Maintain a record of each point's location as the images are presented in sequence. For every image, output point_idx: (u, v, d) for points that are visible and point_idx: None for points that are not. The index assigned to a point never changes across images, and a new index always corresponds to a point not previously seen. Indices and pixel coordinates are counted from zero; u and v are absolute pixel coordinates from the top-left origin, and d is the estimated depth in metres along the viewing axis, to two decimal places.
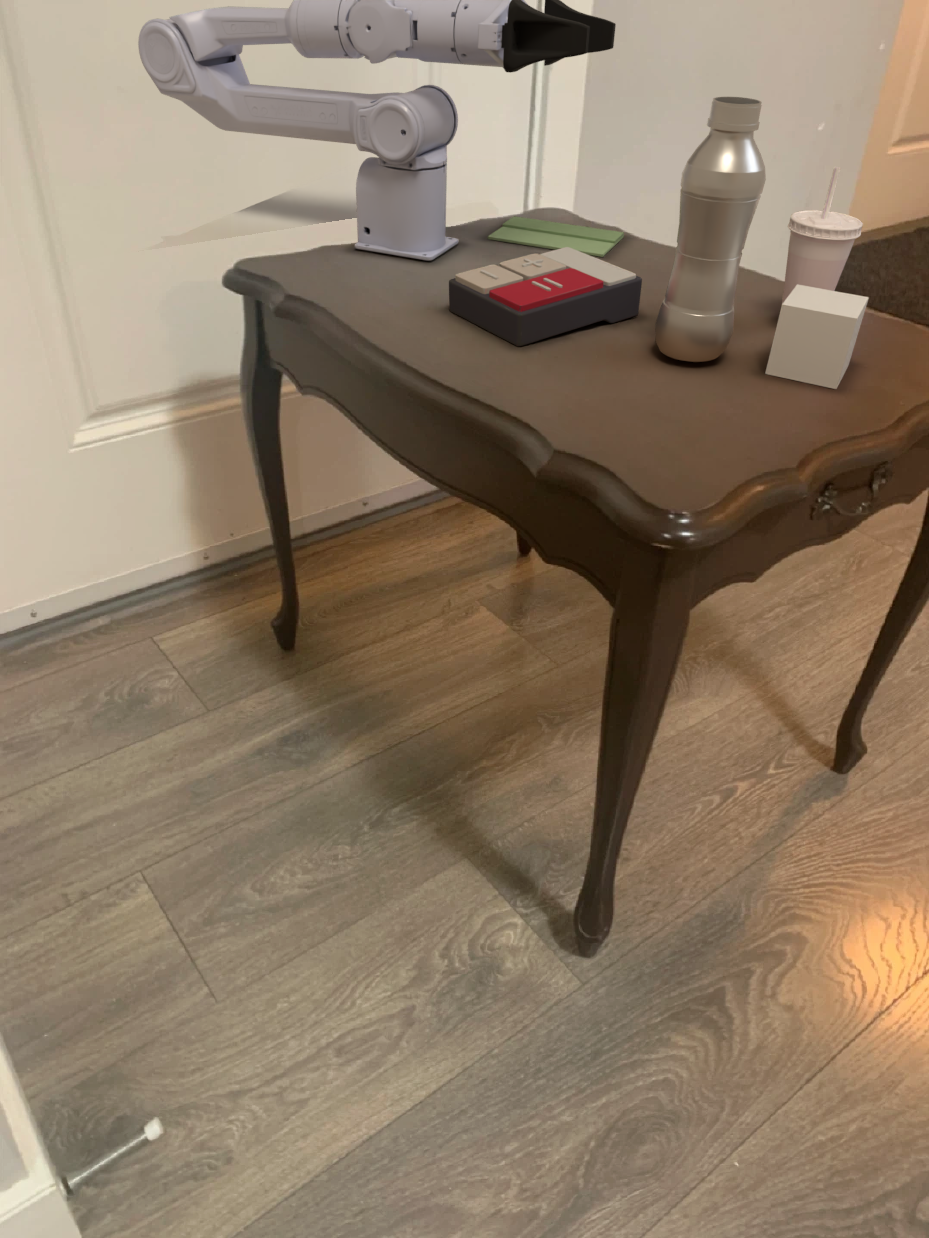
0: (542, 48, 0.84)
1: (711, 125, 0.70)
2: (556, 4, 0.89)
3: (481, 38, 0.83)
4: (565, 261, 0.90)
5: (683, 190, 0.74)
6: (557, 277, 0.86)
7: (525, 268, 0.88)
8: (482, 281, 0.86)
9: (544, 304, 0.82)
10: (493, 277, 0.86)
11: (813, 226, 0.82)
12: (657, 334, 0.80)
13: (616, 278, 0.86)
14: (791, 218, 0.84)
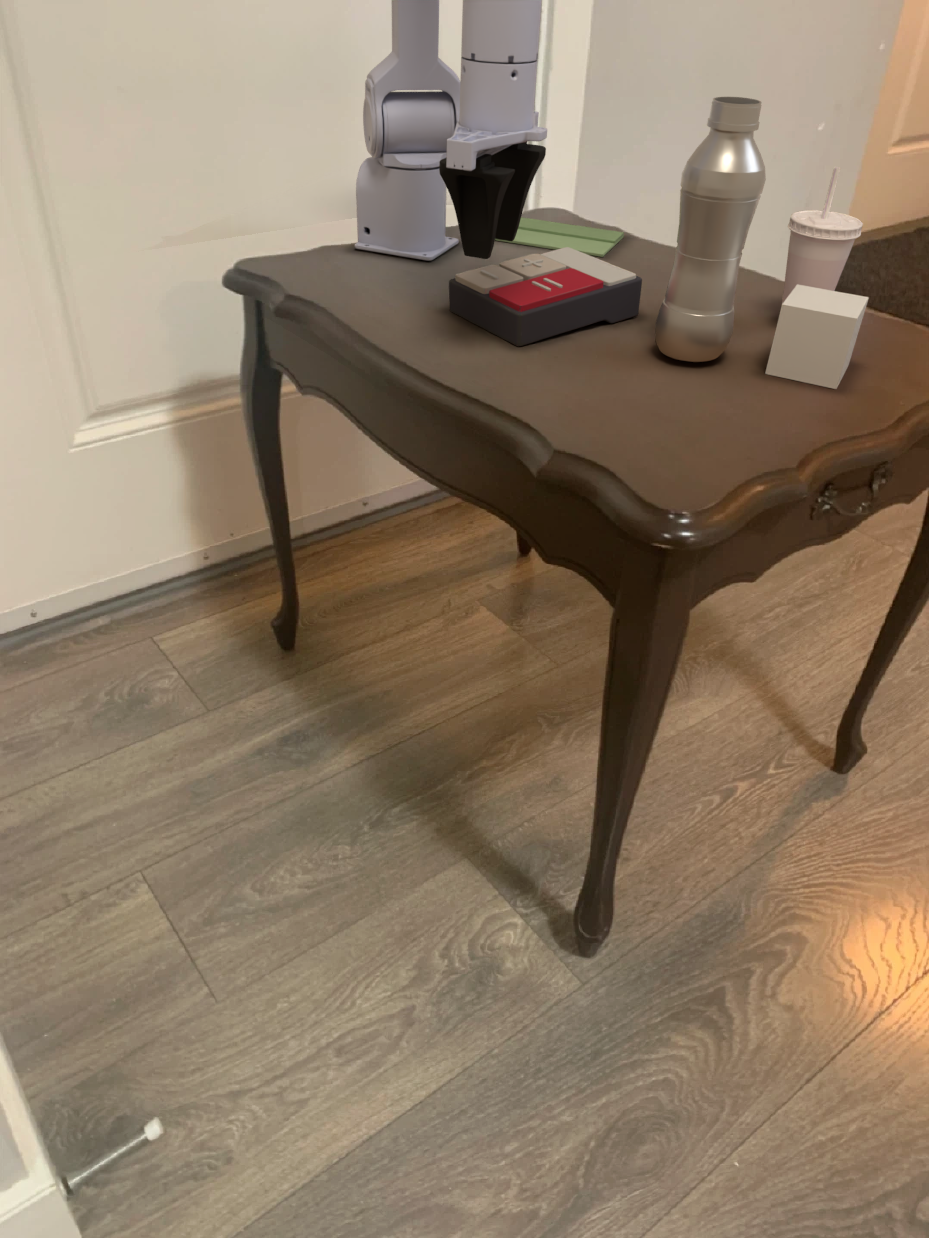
0: (467, 203, 0.73)
1: (711, 125, 0.70)
2: (532, 167, 0.75)
3: (457, 146, 0.67)
4: (565, 261, 0.90)
5: (683, 190, 0.74)
6: (557, 277, 0.86)
7: (525, 268, 0.88)
8: (482, 281, 0.86)
9: (544, 305, 0.82)
10: (493, 277, 0.86)
11: (813, 226, 0.82)
12: (657, 334, 0.80)
13: (616, 278, 0.86)
14: (791, 218, 0.84)
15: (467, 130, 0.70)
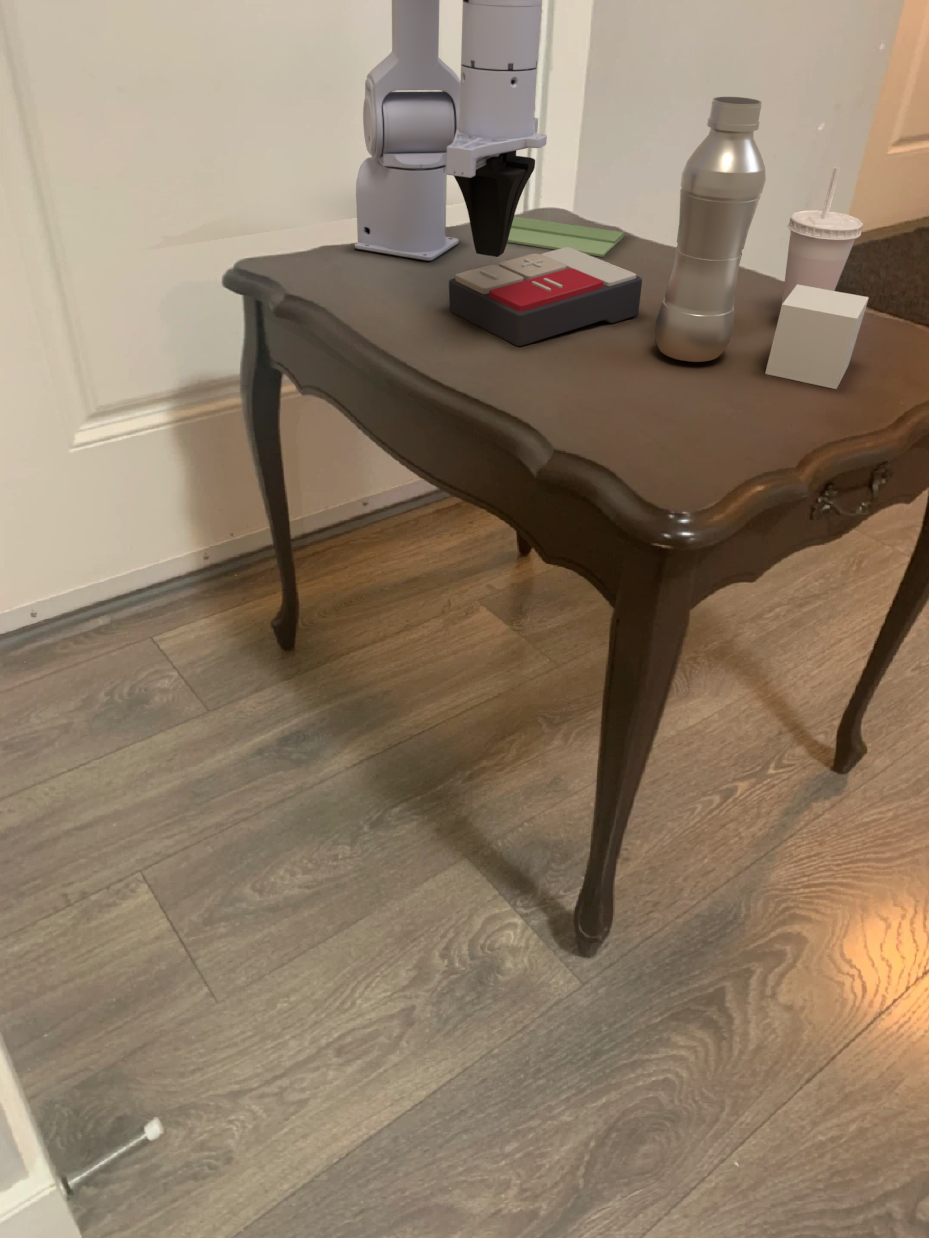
0: (479, 202, 0.75)
1: (711, 125, 0.70)
2: (521, 179, 0.74)
3: (457, 153, 0.67)
4: (565, 261, 0.90)
5: (683, 190, 0.74)
6: (557, 277, 0.86)
7: (525, 268, 0.88)
8: (482, 281, 0.86)
9: (544, 305, 0.82)
10: (493, 277, 0.86)
11: (813, 226, 0.82)
12: (657, 334, 0.80)
13: (616, 278, 0.86)
14: (791, 218, 0.84)
15: (467, 137, 0.71)
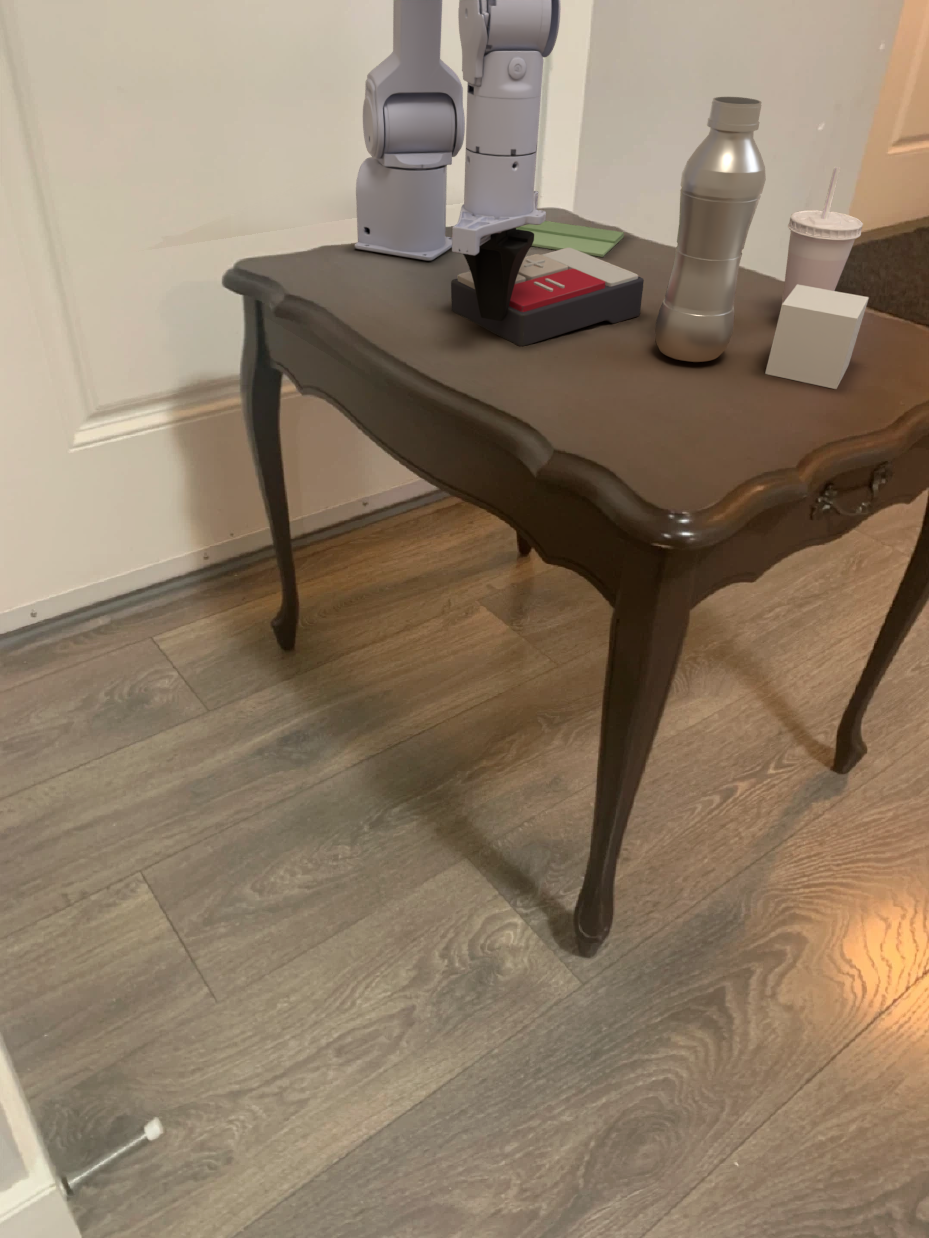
0: (484, 271, 0.80)
1: (711, 125, 0.70)
2: (521, 253, 0.78)
3: (462, 233, 0.72)
4: (567, 262, 0.90)
5: (683, 190, 0.74)
6: (559, 277, 0.86)
7: (527, 269, 0.88)
8: None
9: (547, 305, 0.83)
10: None
11: (813, 226, 0.82)
12: (657, 334, 0.80)
13: (618, 279, 0.87)
14: (791, 218, 0.84)
15: (471, 214, 0.75)
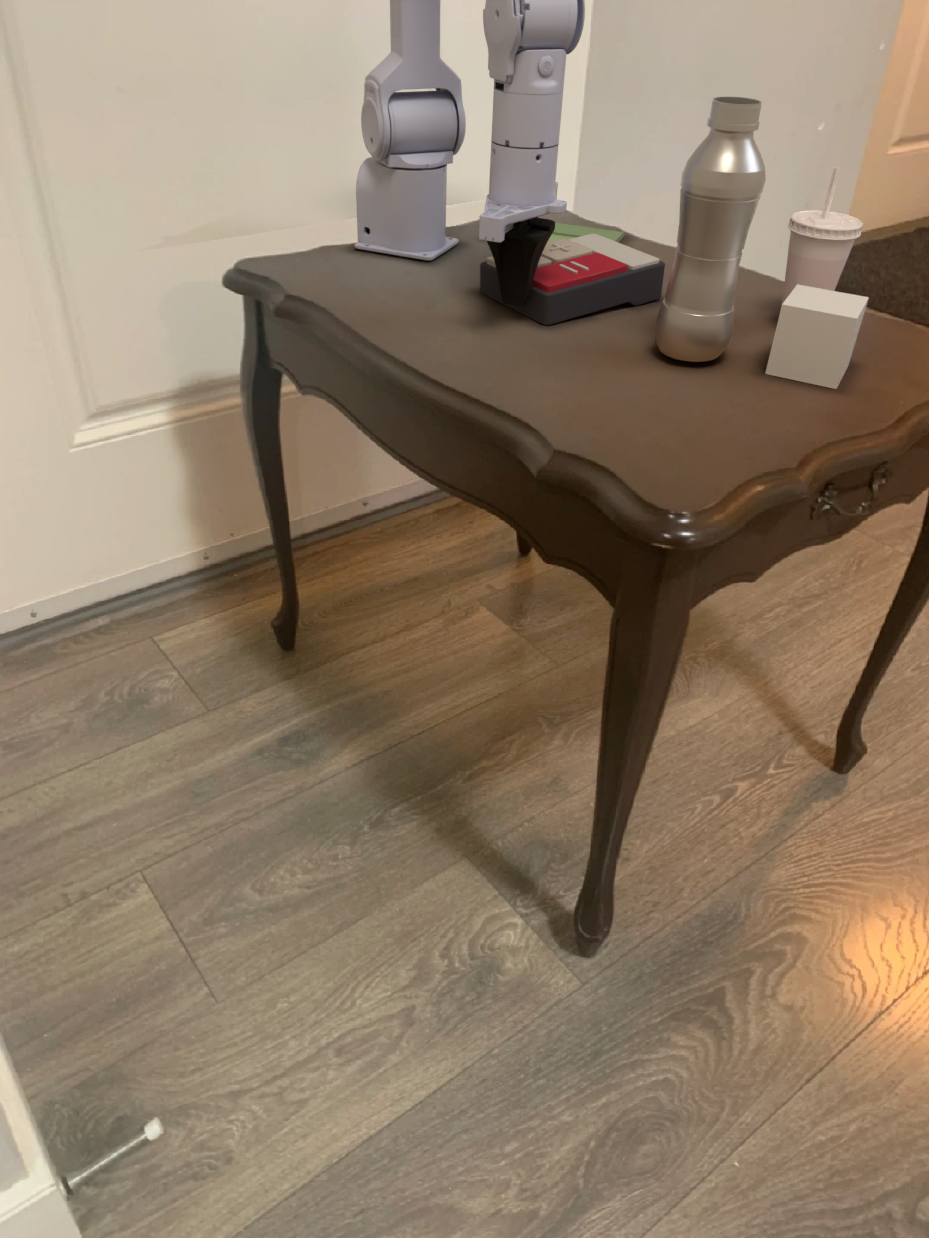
0: (506, 259, 0.84)
1: (711, 125, 0.70)
2: (543, 240, 0.83)
3: (488, 221, 0.76)
4: (591, 246, 0.94)
5: (683, 190, 0.74)
6: (584, 260, 0.90)
7: (553, 253, 0.92)
8: None
9: (571, 286, 0.87)
10: None
11: (813, 226, 0.82)
12: (657, 334, 0.80)
13: (640, 263, 0.90)
14: (791, 218, 0.84)
15: (496, 204, 0.80)
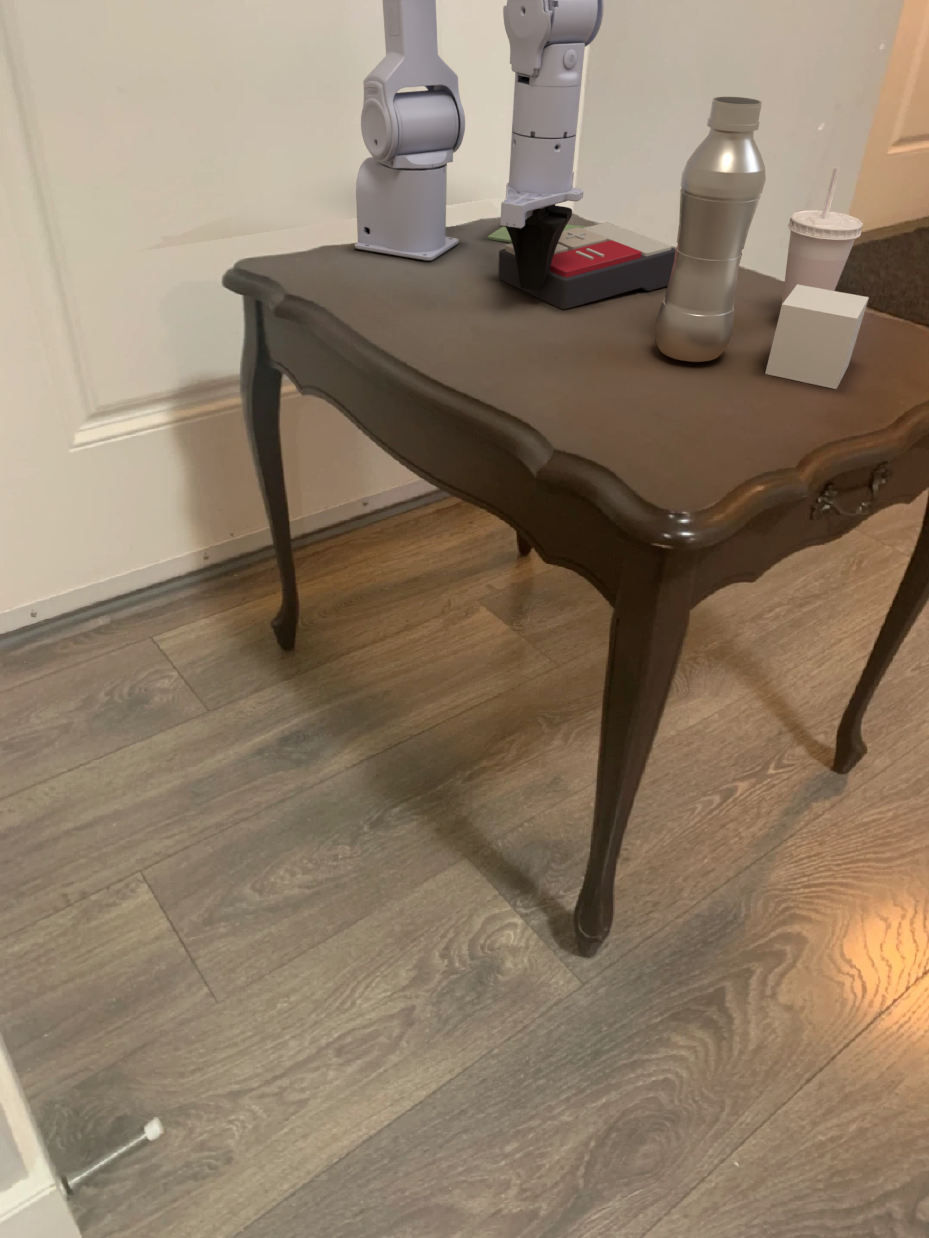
0: (525, 245, 0.88)
1: (711, 125, 0.70)
2: (561, 227, 0.86)
3: (510, 208, 0.80)
4: (606, 234, 0.98)
5: (683, 190, 0.74)
6: (599, 248, 0.94)
7: (569, 240, 0.96)
8: None
9: (588, 271, 0.90)
10: None
11: (813, 226, 0.82)
12: (657, 334, 0.80)
13: (653, 249, 0.94)
14: (791, 218, 0.84)
15: (516, 192, 0.83)
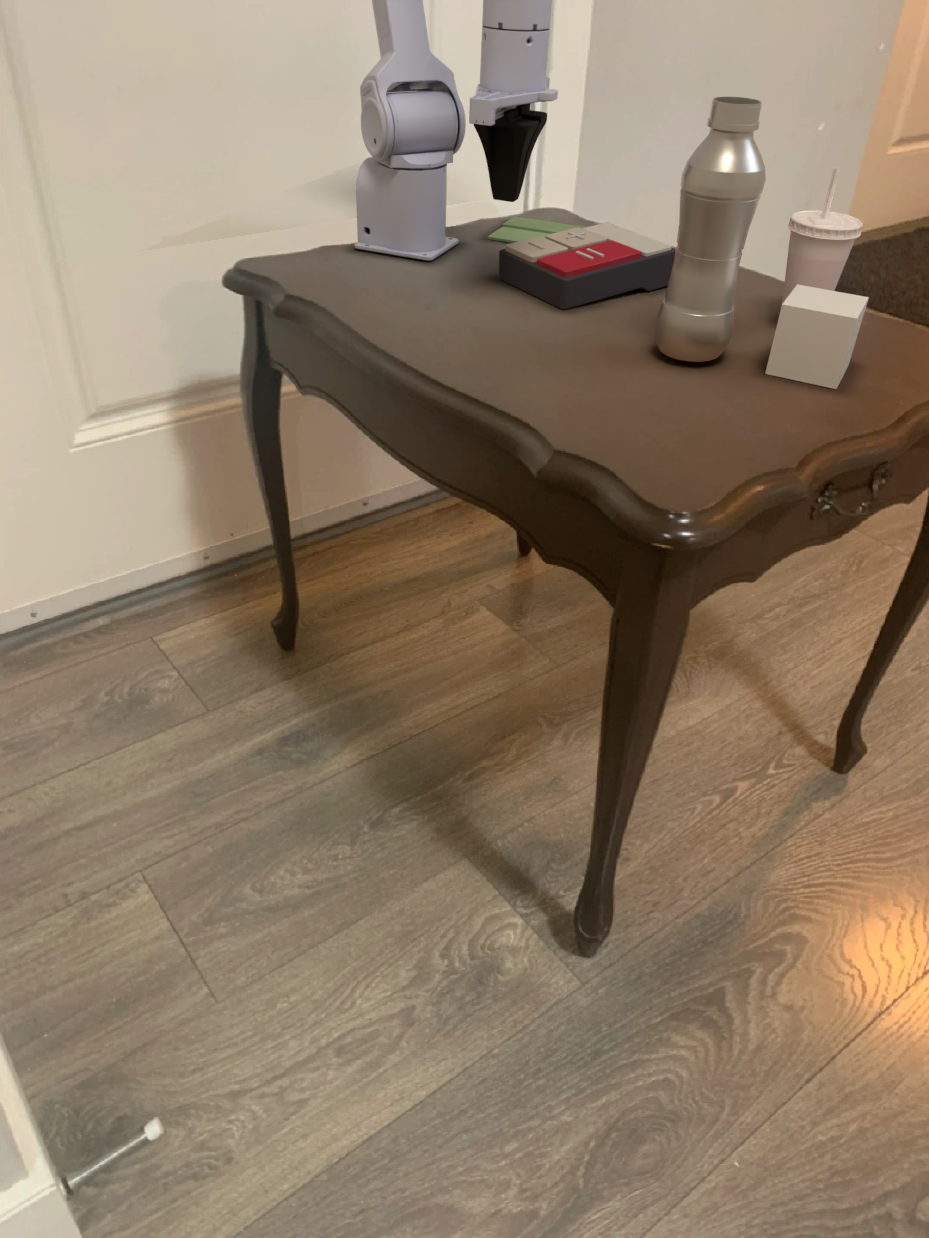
0: (497, 152, 0.84)
1: (711, 125, 0.70)
2: (535, 131, 0.83)
3: (479, 103, 0.76)
4: (606, 234, 0.98)
5: (683, 190, 0.74)
6: (599, 247, 0.94)
7: (569, 240, 0.96)
8: (530, 251, 0.94)
9: (588, 271, 0.90)
10: (540, 247, 0.94)
11: (813, 226, 0.82)
12: (657, 334, 0.80)
13: (653, 249, 0.94)
14: (791, 218, 0.84)
15: (487, 91, 0.80)
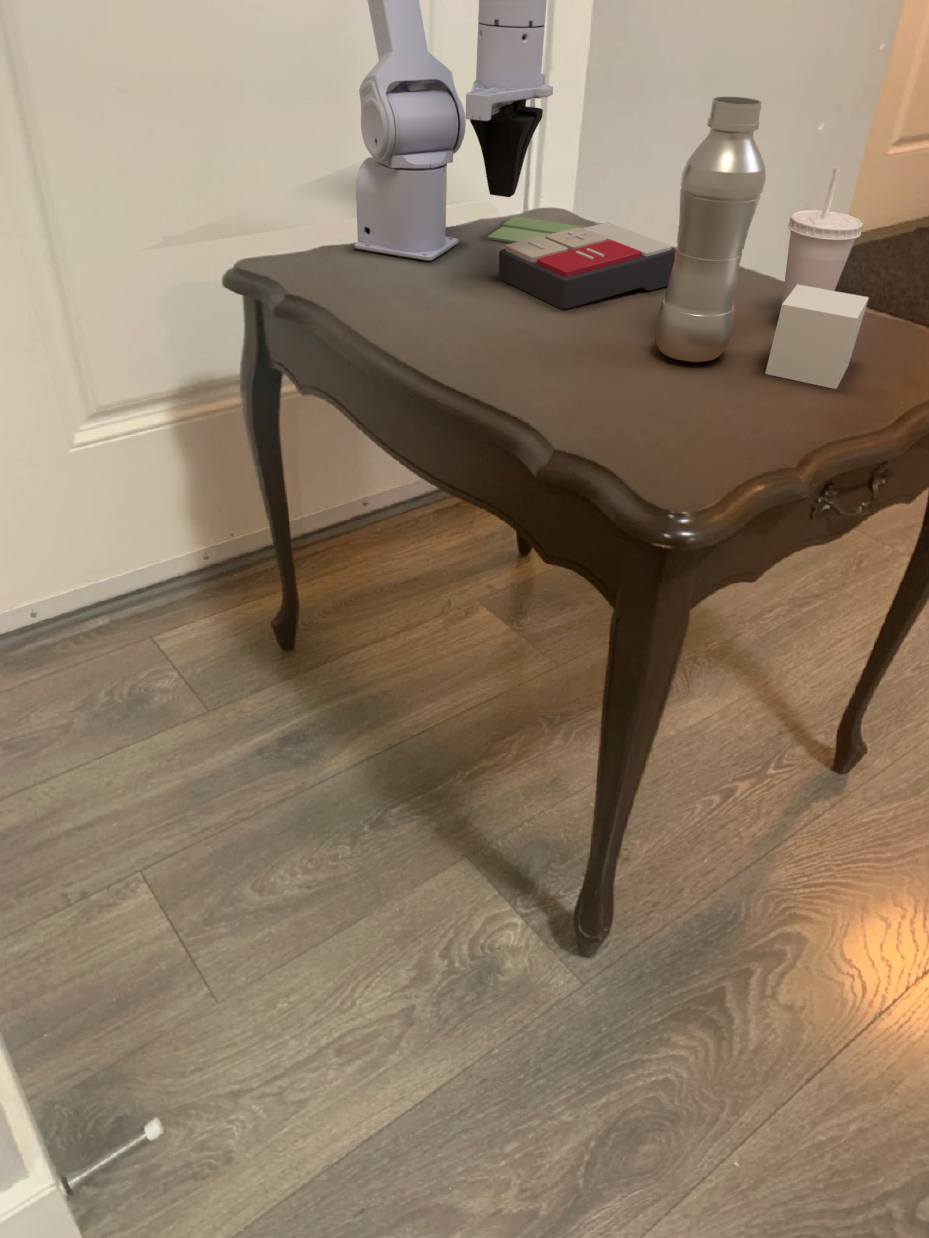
0: (493, 147, 0.85)
1: (711, 125, 0.70)
2: (531, 127, 0.84)
3: (475, 99, 0.77)
4: (606, 234, 0.98)
5: (683, 190, 0.74)
6: (599, 248, 0.94)
7: (569, 240, 0.96)
8: (530, 251, 0.93)
9: (588, 271, 0.90)
10: (540, 247, 0.94)
11: (813, 226, 0.82)
12: (657, 334, 0.80)
13: (653, 249, 0.94)
14: (791, 218, 0.84)
15: (483, 87, 0.81)
